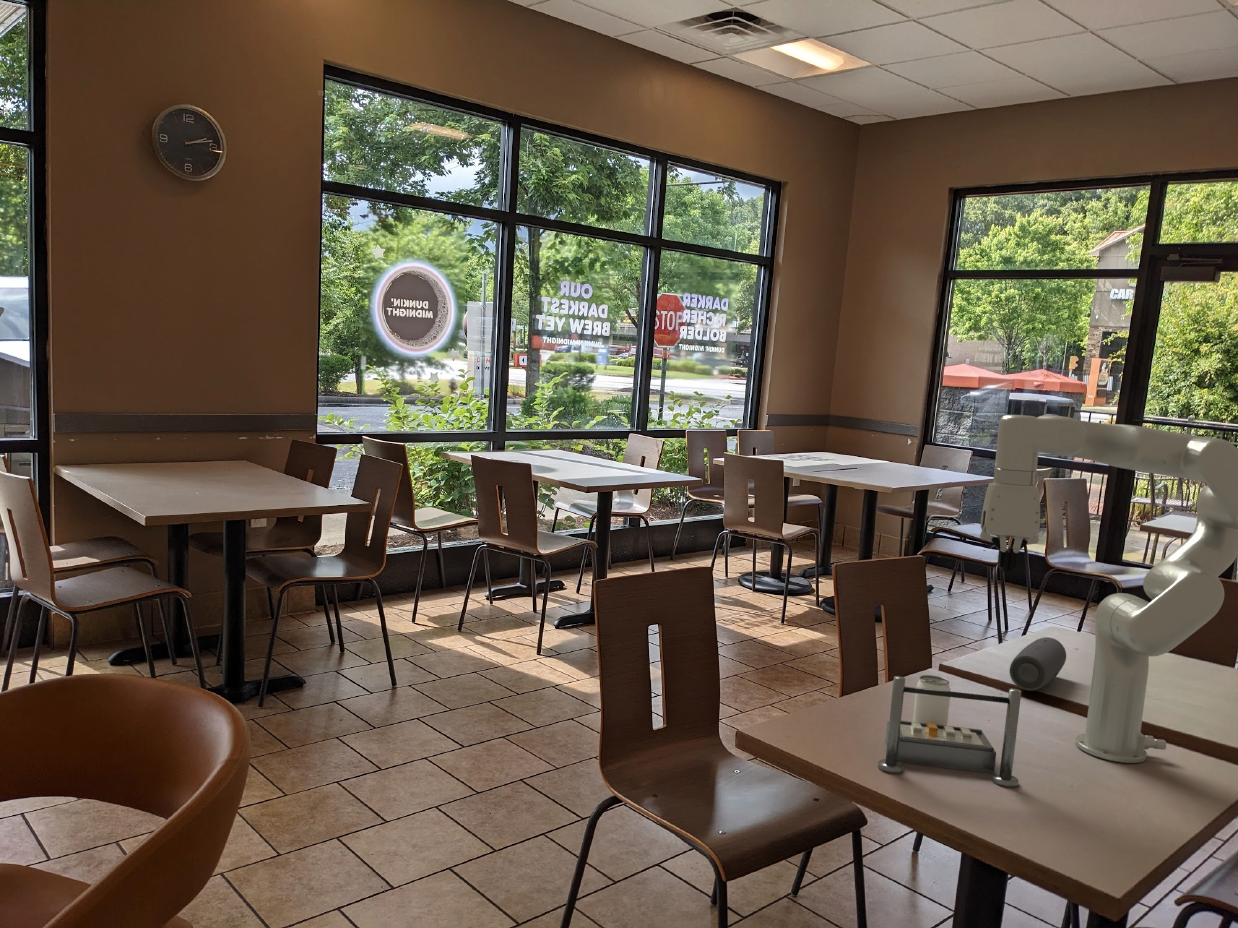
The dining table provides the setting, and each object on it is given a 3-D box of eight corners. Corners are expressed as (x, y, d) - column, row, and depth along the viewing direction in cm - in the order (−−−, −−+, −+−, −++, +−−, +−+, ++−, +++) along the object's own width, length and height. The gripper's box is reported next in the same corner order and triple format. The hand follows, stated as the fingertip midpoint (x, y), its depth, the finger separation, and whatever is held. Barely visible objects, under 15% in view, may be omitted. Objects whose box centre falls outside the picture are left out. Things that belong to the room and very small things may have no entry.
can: (947, 746, 186) (953, 686, 184) (913, 741, 187) (919, 682, 186) (943, 734, 192) (949, 676, 191) (909, 729, 193) (915, 672, 192)
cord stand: (1014, 778, 172) (1024, 687, 170) (1021, 788, 168) (1031, 695, 166) (876, 762, 175) (885, 672, 174) (879, 771, 171) (888, 680, 169)
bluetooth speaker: (1026, 669, 242) (1031, 631, 241) (1066, 678, 237) (1070, 639, 236) (1004, 690, 224) (1008, 649, 223) (1046, 700, 218) (1051, 658, 217)
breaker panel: (980, 752, 184) (983, 723, 183) (993, 773, 174) (997, 742, 173) (885, 741, 186) (888, 712, 185) (893, 761, 176) (896, 731, 176)
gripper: (1048, 479, 188) (1039, 570, 189) (970, 474, 189) (962, 564, 191) (1061, 483, 180) (1052, 578, 182) (979, 478, 182) (971, 572, 184)
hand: (1005, 571), depth 187 cm, fingers closed
